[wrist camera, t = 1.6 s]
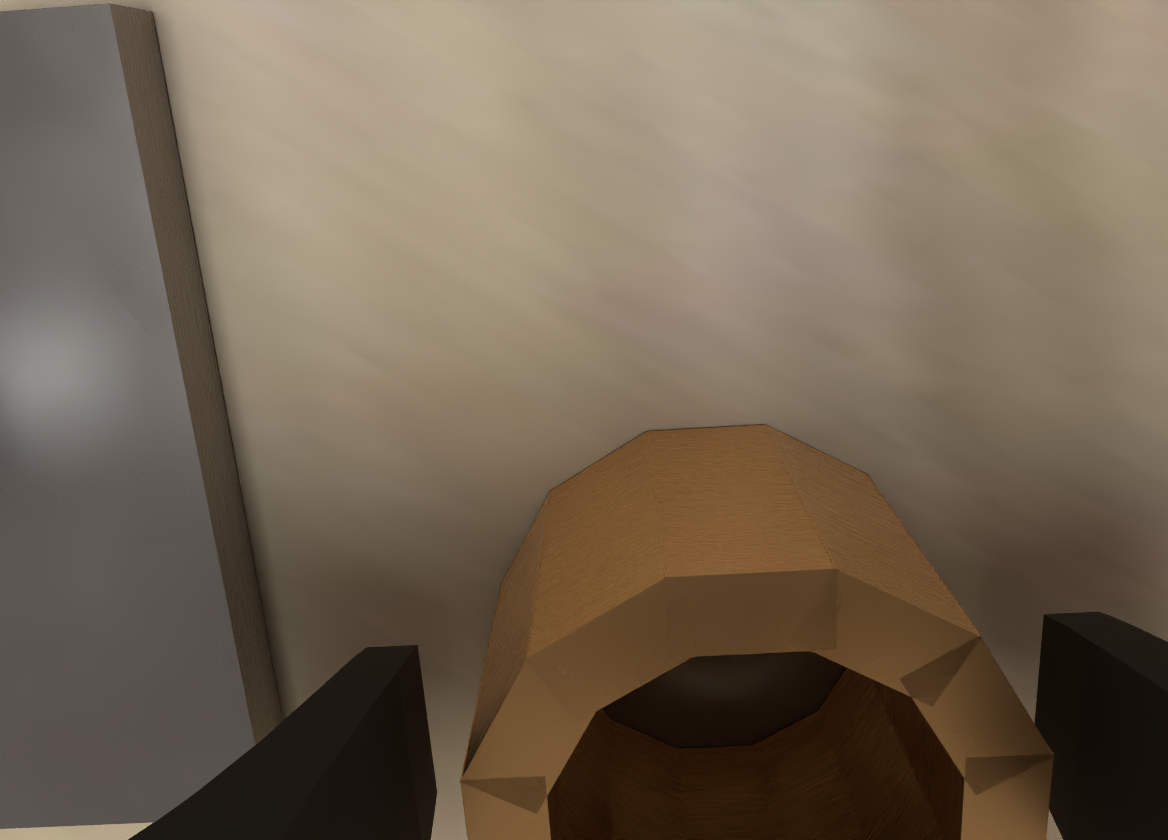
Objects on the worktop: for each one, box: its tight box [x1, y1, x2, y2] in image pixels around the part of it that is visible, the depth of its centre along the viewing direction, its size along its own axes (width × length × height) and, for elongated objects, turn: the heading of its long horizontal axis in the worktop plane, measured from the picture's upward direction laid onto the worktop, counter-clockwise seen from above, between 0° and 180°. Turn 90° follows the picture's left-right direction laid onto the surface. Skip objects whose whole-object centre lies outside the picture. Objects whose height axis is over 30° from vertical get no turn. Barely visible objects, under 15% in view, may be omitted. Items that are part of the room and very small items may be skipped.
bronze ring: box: [460, 424, 1054, 840], centre depth 11 cm, size 6×6×4 cm
